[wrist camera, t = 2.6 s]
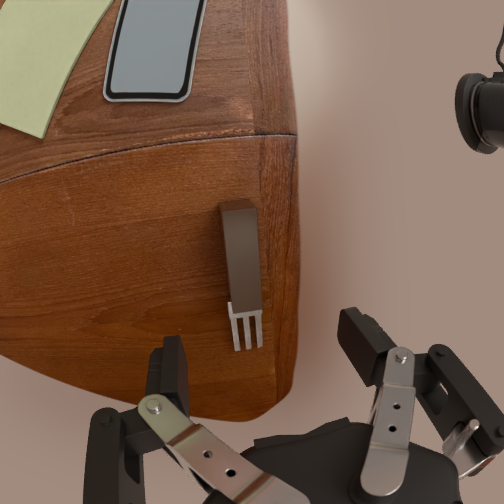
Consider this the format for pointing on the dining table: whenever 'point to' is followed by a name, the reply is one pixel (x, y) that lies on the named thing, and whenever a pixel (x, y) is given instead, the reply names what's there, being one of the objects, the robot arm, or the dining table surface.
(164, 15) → the smartphone
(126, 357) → the dining table surface
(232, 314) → the fork
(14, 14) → the placemat
